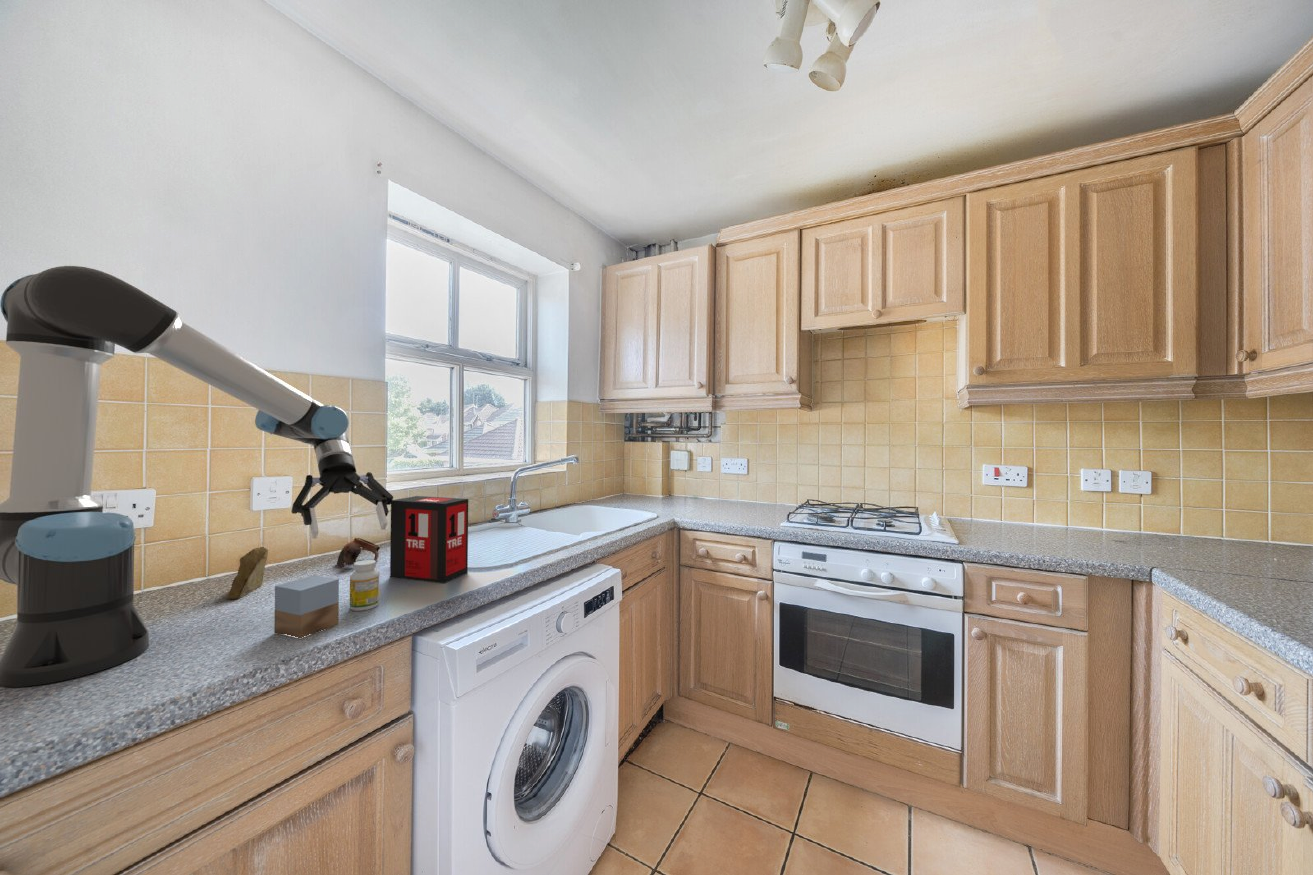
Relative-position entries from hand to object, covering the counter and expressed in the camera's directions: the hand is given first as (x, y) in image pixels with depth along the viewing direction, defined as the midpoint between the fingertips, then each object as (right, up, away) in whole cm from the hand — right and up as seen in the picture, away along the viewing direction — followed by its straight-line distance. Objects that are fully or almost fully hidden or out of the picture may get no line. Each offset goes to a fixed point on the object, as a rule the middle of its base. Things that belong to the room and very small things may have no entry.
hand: (351, 530), depth 106 cm
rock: (-26, -15, 0) cm, 30 cm away
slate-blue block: (+4, -11, -18) cm, 22 cm away
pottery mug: (-15, -15, +24) cm, 32 cm away
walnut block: (+4, -15, -18) cm, 24 cm away
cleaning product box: (+11, -15, +15) cm, 24 cm away
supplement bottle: (+8, -15, -7) cm, 18 cm away
